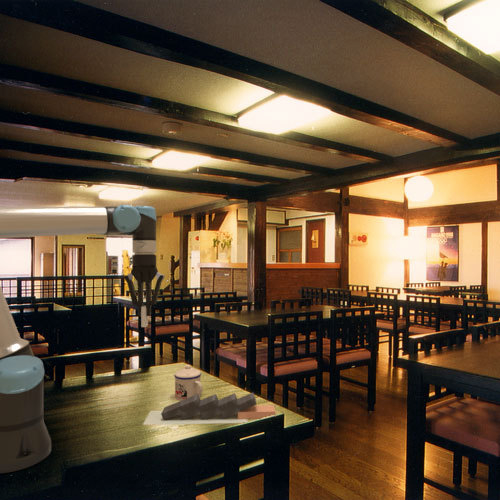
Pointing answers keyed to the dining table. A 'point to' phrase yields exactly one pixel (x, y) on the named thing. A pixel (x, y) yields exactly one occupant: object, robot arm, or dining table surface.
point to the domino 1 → (180, 407)
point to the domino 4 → (240, 405)
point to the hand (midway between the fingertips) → (144, 326)
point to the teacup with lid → (187, 383)
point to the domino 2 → (201, 407)
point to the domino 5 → (257, 412)
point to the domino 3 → (221, 406)
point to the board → (190, 419)
